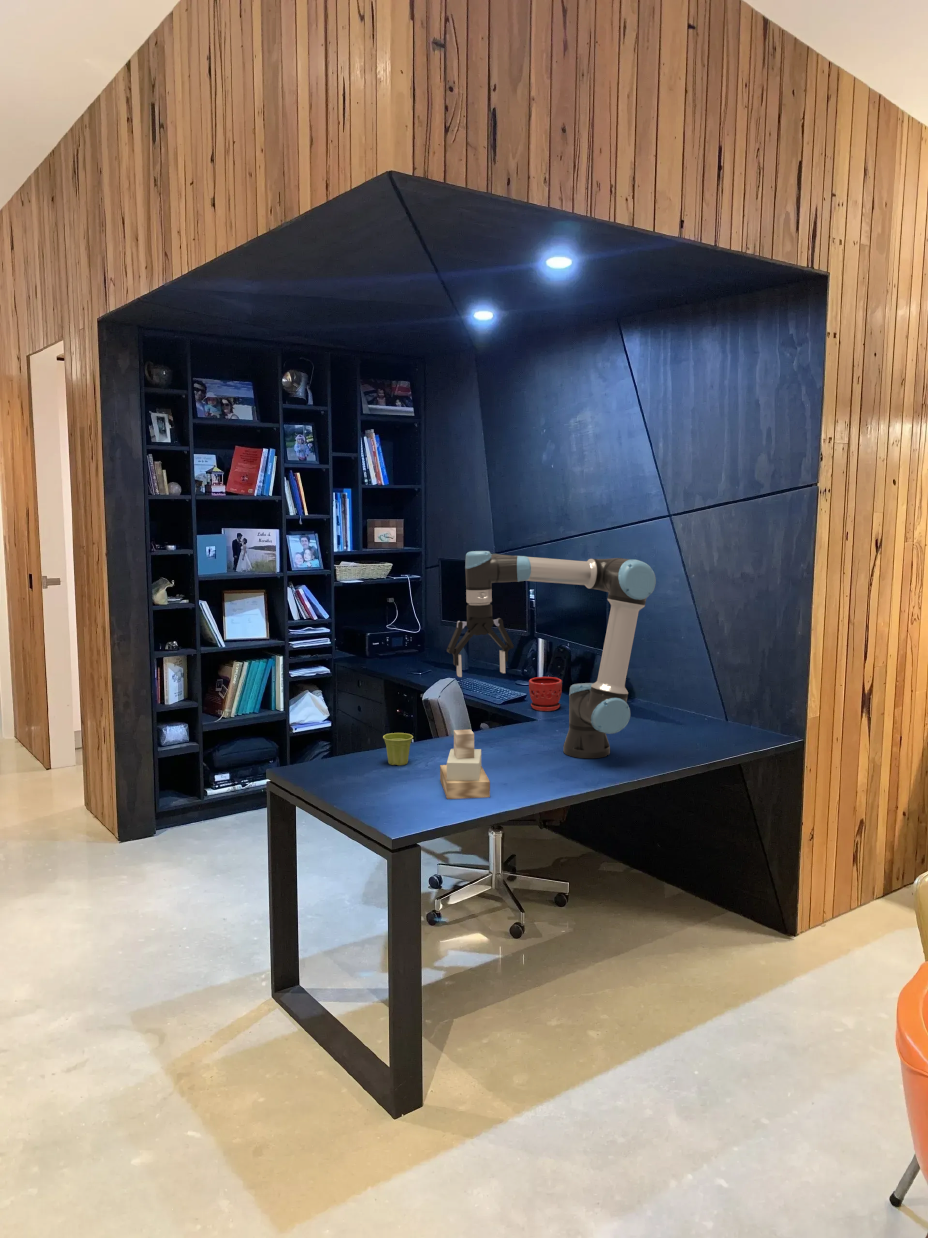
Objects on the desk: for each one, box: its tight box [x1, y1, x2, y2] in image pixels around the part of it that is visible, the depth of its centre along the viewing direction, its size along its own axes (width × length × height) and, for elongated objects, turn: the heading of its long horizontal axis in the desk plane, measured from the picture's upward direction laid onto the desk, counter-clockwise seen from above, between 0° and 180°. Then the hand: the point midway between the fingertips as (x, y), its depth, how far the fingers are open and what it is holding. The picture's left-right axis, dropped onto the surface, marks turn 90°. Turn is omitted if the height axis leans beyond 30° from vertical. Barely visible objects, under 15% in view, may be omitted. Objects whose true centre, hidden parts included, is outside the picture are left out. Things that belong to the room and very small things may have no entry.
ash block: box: [453, 729, 475, 759], centre depth 261 cm, size 5×5×7 cm
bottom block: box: [439, 764, 491, 800], centre depth 262 cm, size 12×18×5 cm, turn 8°
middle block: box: [446, 748, 482, 781], centre depth 262 cm, size 9×15×5 cm, turn 177°
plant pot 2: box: [528, 676, 563, 712], centre depth 364 cm, size 13×13×12 cm
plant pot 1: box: [382, 732, 414, 767], centre depth 287 cm, size 9×9×9 cm
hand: (481, 674), depth 272 cm, fingers open, 13 cm apart
